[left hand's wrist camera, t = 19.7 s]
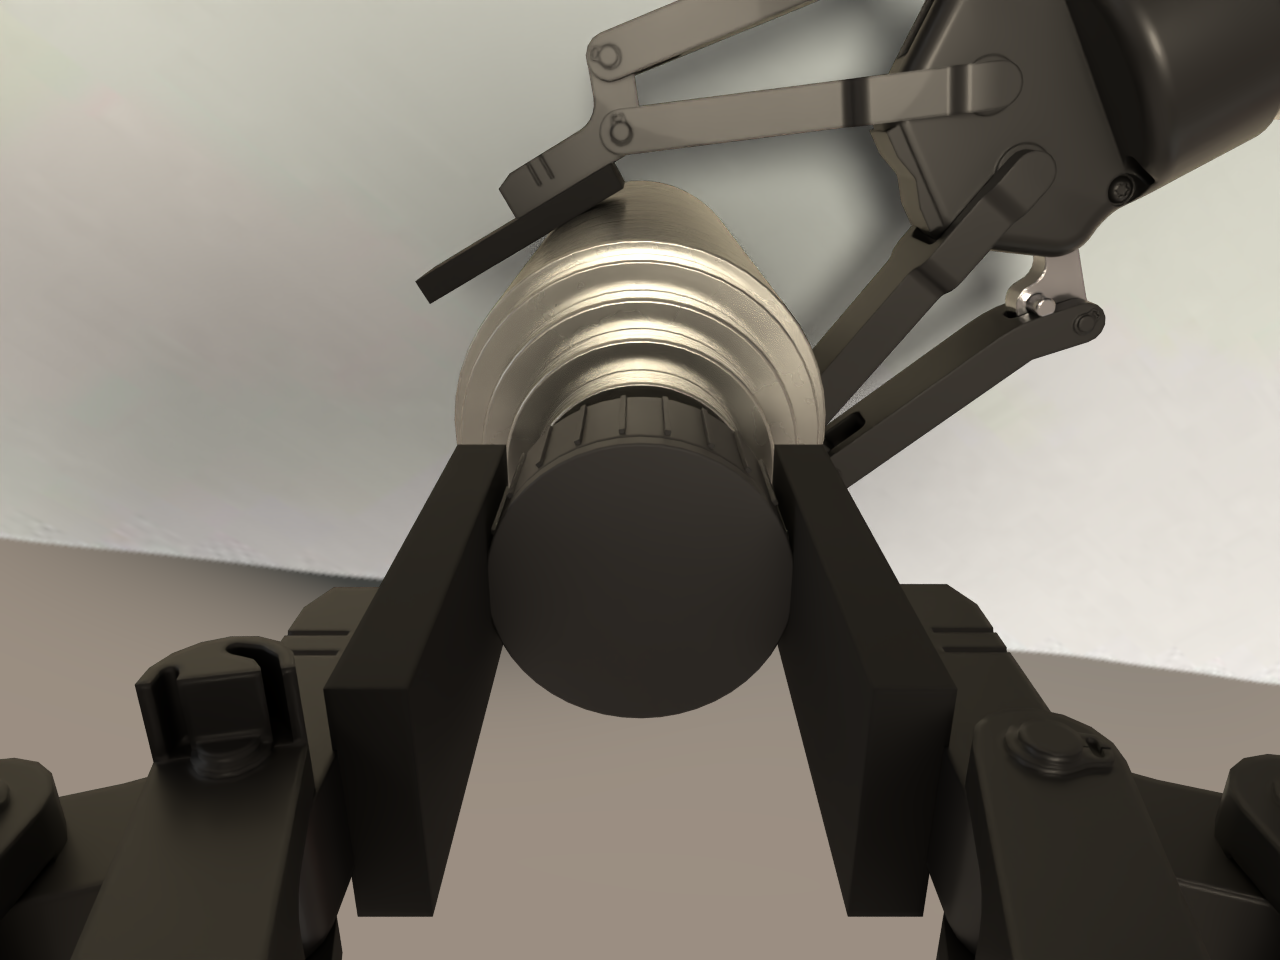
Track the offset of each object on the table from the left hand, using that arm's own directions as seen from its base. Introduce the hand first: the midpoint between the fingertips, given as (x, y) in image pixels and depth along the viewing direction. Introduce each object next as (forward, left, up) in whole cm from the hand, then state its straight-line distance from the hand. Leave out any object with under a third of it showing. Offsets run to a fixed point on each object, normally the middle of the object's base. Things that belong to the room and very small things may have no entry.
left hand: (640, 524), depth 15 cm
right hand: (-4, -3, -15) cm, 15 cm away
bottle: (0, 0, -21) cm, 21 cm away
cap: (0, 0, +2) cm, 2 cm away
